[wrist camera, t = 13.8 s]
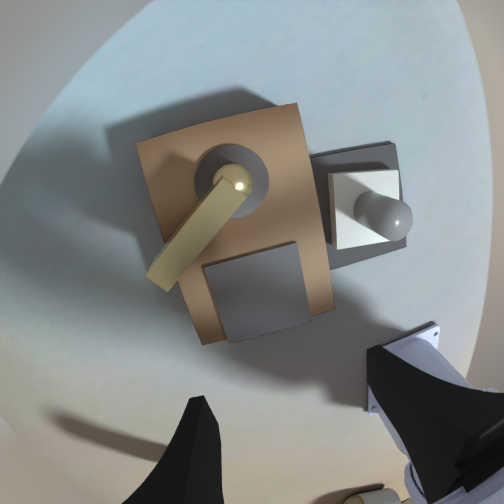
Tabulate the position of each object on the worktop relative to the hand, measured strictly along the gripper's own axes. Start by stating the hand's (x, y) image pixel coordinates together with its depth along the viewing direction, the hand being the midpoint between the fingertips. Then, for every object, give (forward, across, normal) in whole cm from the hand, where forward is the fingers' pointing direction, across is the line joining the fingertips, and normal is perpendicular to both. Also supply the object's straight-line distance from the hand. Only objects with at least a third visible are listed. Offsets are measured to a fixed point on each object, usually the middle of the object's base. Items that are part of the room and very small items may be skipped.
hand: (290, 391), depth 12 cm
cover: (+10, -8, -4) cm, 14 cm away
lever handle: (+7, +2, -7) cm, 10 cm away
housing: (+10, 0, -5) cm, 12 cm away
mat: (+10, -8, -4) cm, 14 cm away
